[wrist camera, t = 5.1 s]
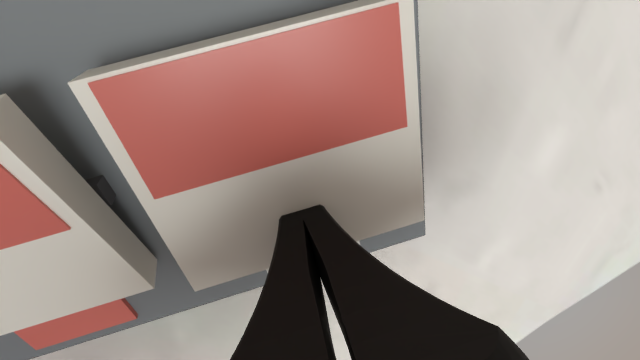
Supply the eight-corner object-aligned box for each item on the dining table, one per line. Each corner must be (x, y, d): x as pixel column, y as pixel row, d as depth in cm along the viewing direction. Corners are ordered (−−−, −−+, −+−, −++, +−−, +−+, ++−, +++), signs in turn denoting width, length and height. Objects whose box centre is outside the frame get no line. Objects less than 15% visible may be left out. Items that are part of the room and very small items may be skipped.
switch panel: (406, 208, 17) (431, 244, 15) (11, 329, 16) (-24, 388, 13) (384, -99, 10) (424, -115, 8) (-314, 66, 9) (-488, 99, 7)
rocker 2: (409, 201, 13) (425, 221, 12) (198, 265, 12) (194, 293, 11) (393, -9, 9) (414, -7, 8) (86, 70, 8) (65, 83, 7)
